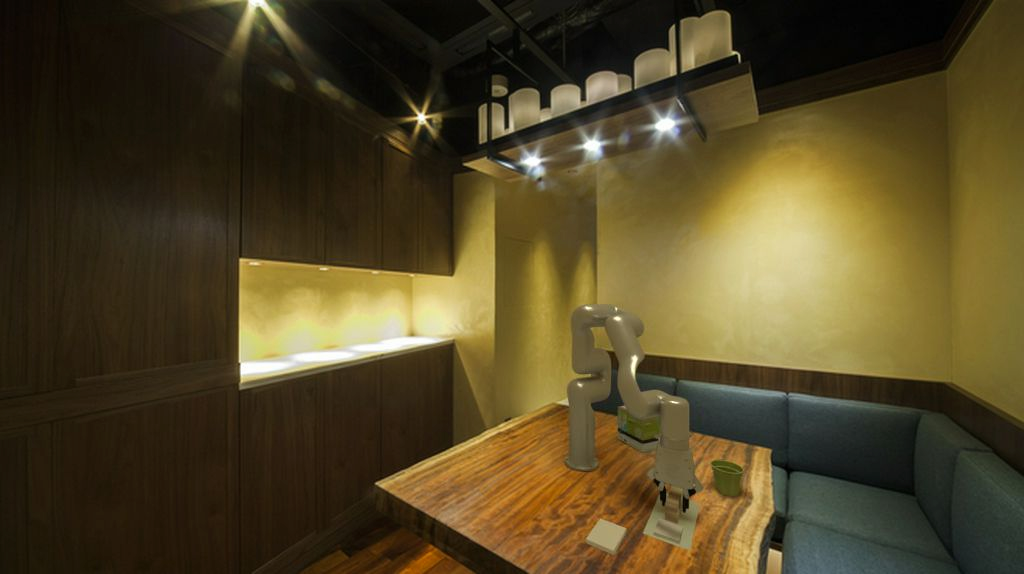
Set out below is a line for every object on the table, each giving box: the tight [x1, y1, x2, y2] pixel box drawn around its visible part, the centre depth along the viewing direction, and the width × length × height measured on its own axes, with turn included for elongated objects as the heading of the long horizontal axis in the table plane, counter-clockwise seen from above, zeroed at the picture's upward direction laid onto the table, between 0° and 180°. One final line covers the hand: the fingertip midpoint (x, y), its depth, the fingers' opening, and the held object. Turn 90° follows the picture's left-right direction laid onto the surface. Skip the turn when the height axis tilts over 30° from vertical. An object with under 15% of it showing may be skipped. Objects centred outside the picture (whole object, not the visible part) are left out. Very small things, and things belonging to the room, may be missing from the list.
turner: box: [654, 485, 684, 544], centre depth 97 cm, size 21×6×5 cm, turn 147°
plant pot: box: [709, 459, 745, 498], centre depth 112 cm, size 9×9×9 cm
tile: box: [585, 518, 627, 556], centre depth 89 cm, size 2×7×10 cm
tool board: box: [642, 492, 701, 552], centre depth 97 cm, size 24×11×1 cm, turn 147°
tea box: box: [617, 405, 660, 453], centre depth 149 cm, size 15×10×15 cm, turn 25°
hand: (674, 506), depth 99 cm, fingers open, 4 cm apart
